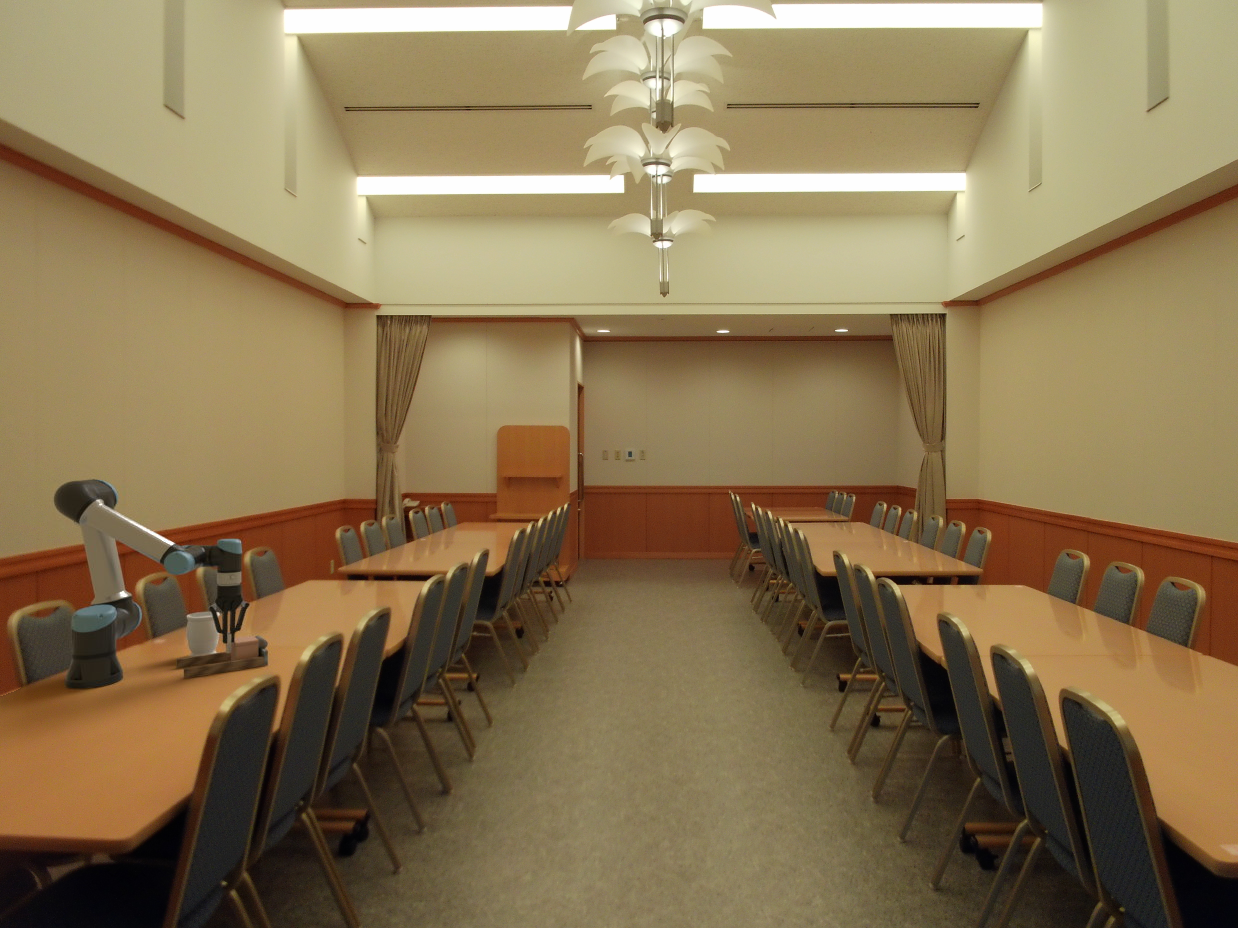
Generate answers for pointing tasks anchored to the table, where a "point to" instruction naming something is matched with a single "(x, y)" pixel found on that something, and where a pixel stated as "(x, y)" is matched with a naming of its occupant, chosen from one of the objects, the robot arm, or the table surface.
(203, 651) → the jar
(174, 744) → the table surface
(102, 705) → the table surface
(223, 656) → the bay
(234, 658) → the pink block
